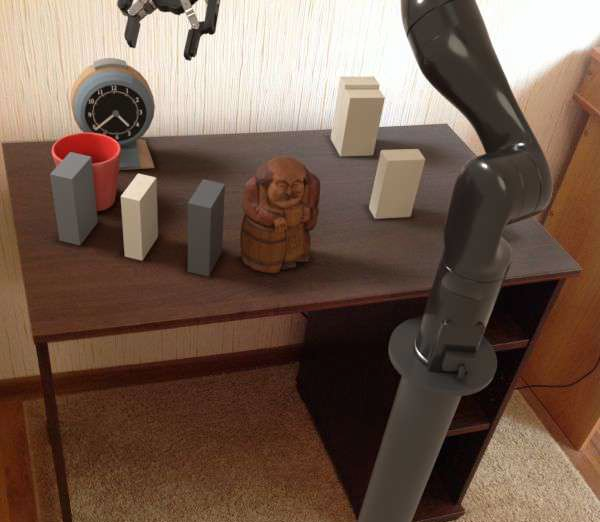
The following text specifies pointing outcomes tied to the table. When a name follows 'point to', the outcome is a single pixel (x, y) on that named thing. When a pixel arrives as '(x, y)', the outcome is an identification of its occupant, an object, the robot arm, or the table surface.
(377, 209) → the cream books
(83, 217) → the pair of grey blocks
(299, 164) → the wooden figurine
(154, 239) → the beige block
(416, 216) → the table surface
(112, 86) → the alarm clock
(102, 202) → the flower pot
